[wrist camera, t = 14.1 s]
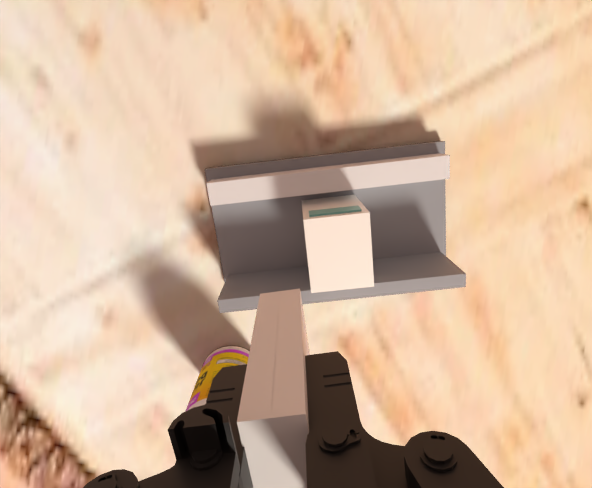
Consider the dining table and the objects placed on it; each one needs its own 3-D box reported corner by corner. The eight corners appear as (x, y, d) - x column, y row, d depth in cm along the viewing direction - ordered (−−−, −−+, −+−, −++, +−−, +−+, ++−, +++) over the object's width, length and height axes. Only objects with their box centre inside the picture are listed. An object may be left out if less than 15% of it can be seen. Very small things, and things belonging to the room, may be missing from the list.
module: (301, 198, 38) (303, 217, 30) (354, 192, 38) (369, 210, 30) (307, 260, 40) (311, 293, 32) (358, 255, 39) (374, 286, 32)
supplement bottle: (209, 337, 43) (175, 422, 31) (269, 350, 44) (259, 440, 31) (197, 389, 45) (161, 489, 33) (255, 401, 45) (241, 504, 33)
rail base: (206, 168, 38) (188, 177, 31) (441, 140, 37) (473, 144, 31) (227, 285, 41) (214, 316, 35) (442, 262, 41) (471, 289, 34)
